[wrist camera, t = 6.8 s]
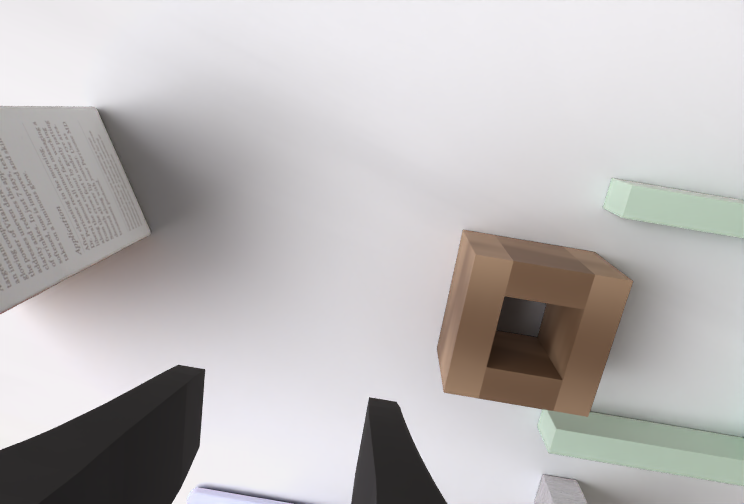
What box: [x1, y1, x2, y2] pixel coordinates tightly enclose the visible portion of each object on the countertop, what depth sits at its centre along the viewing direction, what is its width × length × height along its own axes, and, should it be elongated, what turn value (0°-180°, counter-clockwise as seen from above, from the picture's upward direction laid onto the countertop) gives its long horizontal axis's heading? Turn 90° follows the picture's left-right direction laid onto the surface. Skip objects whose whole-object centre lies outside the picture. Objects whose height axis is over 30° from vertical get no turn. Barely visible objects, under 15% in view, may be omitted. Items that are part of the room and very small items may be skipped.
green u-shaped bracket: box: [537, 178, 744, 486], centre depth 20 cm, size 11×10×2 cm
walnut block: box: [437, 230, 633, 417], centre depth 19 cm, size 5×5×4 cm
